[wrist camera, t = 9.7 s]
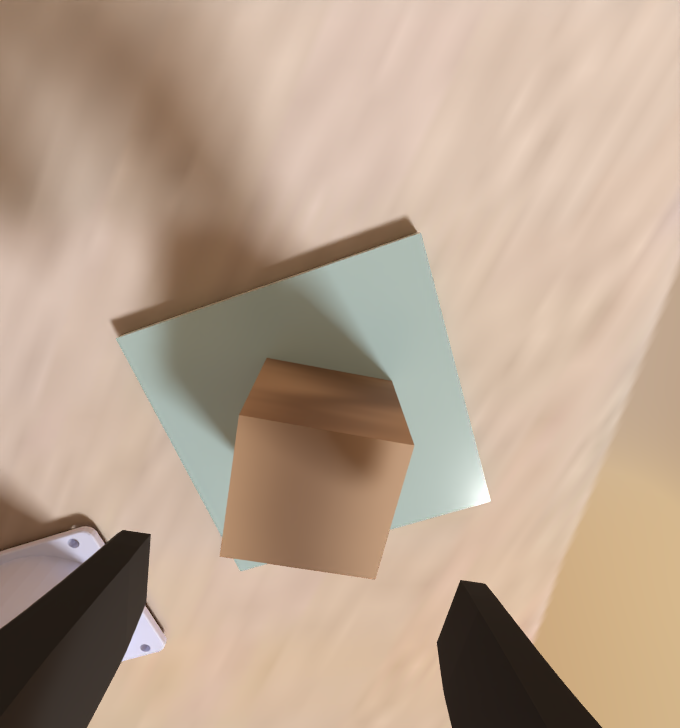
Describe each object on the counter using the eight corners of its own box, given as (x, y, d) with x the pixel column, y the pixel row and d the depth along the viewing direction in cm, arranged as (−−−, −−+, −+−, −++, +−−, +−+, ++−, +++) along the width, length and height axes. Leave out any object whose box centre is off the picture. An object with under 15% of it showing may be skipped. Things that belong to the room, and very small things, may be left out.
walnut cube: (391, 380, 17) (414, 445, 12) (364, 485, 18) (375, 579, 14) (266, 357, 16) (239, 414, 12) (250, 467, 18) (219, 556, 13)
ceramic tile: (242, 561, 20) (240, 571, 20) (123, 334, 17) (115, 338, 16) (486, 493, 19) (490, 501, 19) (417, 232, 15) (420, 232, 15)
